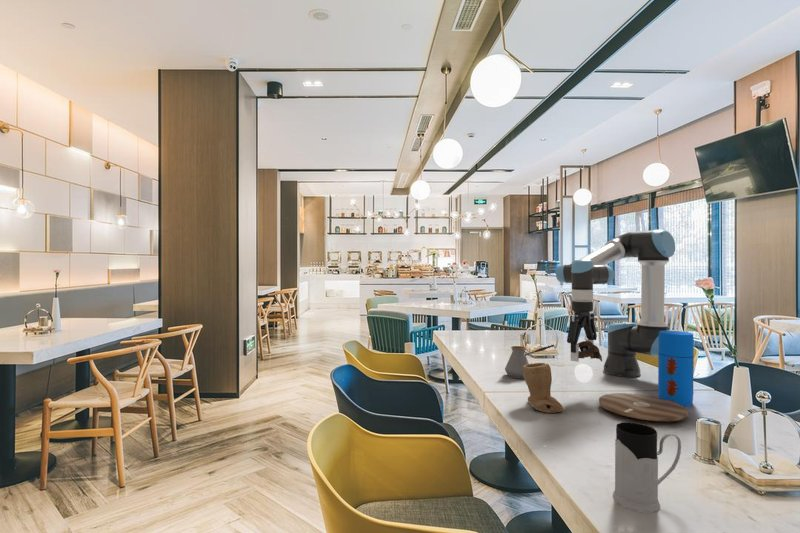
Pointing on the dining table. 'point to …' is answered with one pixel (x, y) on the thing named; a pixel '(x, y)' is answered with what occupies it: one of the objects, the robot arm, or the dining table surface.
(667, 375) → the thermos
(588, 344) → the pottery mug
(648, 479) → the glass holder
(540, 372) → the brown boot vase
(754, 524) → the dining table surface
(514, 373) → the coffee pot
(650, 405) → the disc
